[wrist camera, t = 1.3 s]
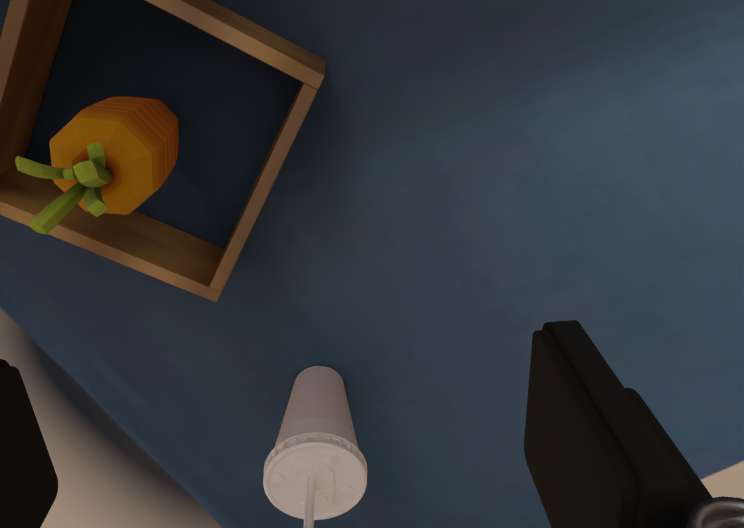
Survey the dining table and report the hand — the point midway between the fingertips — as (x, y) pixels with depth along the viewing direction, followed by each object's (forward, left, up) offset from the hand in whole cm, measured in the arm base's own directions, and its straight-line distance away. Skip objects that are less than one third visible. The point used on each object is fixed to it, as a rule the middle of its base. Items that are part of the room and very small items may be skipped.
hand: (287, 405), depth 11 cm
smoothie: (+14, -16, -29) cm, 36 cm away
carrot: (-6, -7, -29) cm, 30 cm away
